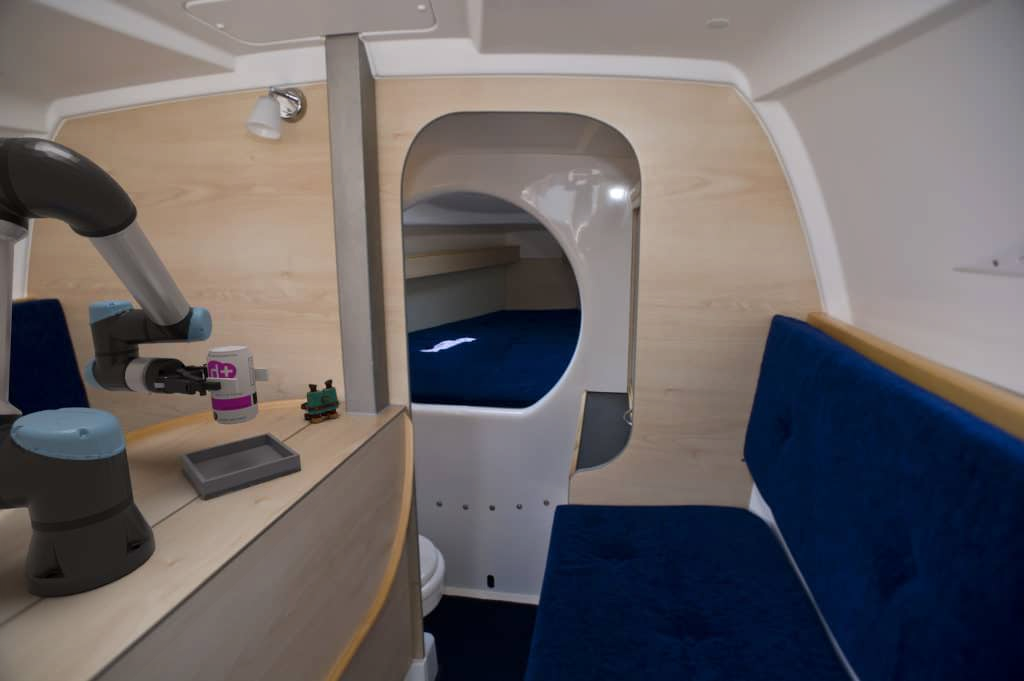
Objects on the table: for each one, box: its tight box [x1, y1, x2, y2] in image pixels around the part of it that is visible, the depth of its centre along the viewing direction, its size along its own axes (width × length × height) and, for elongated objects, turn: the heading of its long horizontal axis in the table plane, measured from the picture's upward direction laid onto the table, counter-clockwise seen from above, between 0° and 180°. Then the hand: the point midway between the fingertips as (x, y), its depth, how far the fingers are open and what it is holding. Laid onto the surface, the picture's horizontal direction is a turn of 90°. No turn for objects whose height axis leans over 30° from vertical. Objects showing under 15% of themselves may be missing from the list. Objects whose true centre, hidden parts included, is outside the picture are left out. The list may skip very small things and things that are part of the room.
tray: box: [179, 432, 302, 501], centre depth 108 cm, size 18×18×4 cm
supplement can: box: [205, 344, 259, 426], centre depth 105 cm, size 8×8×15 cm
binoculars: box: [300, 378, 340, 424], centre depth 140 cm, size 9×11×10 cm
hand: (252, 380), depth 104 cm, fingers closed on supplement can, 8 cm apart
